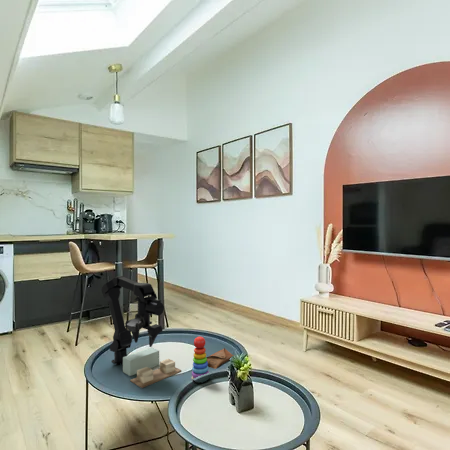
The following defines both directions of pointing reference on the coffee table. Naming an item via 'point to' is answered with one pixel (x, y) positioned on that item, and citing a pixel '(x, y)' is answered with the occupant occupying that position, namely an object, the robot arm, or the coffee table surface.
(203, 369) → the stacking toy
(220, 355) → the sunglasses case
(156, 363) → the lintel
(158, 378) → the bridge base
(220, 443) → the coffee table surface
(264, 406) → the coffee table surface
